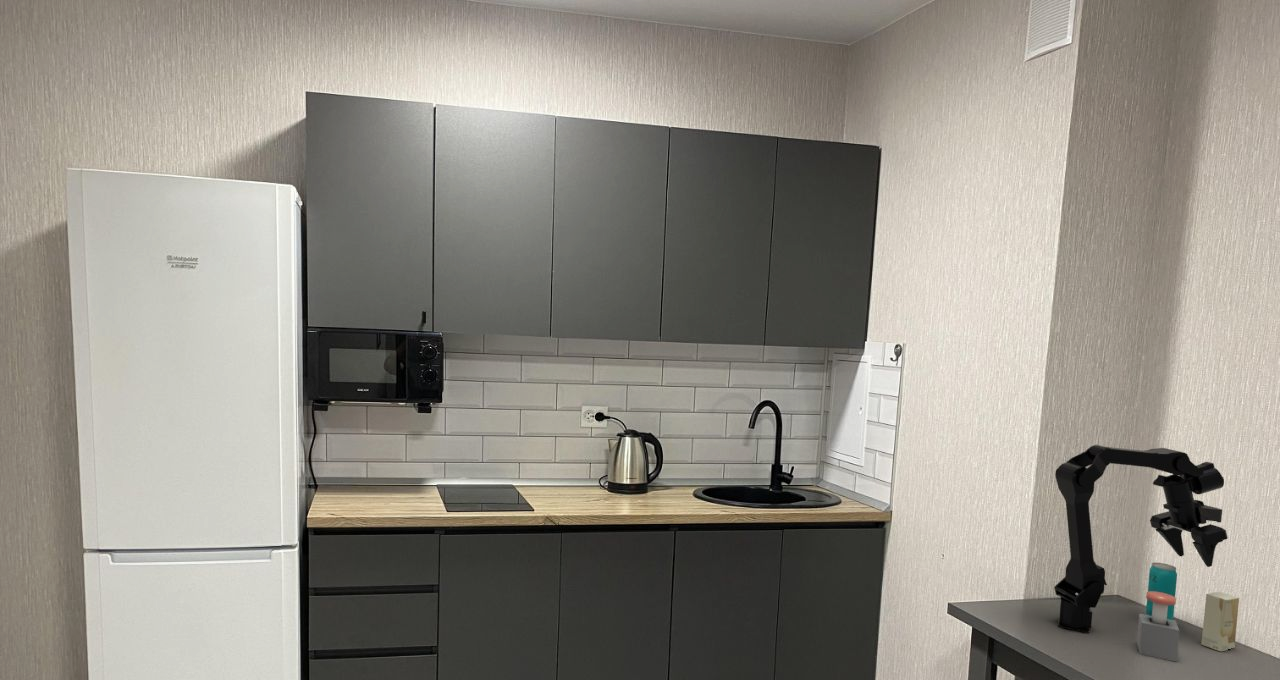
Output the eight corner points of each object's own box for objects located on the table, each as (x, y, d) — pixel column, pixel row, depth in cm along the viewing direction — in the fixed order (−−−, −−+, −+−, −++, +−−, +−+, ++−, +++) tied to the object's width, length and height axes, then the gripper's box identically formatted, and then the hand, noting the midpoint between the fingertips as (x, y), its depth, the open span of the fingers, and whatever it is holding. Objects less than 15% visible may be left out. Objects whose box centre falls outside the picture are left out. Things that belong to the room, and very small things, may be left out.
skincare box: (1220, 652, 183) (1225, 599, 183) (1200, 645, 187) (1204, 593, 187) (1235, 648, 186) (1240, 597, 186) (1215, 641, 190) (1219, 590, 190)
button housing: (1139, 653, 179) (1142, 622, 179) (1136, 643, 185) (1139, 613, 185) (1176, 661, 176) (1179, 630, 176) (1172, 651, 182) (1175, 620, 182)
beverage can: (1164, 622, 202) (1169, 563, 201) (1177, 630, 196) (1182, 570, 196) (1140, 619, 202) (1145, 561, 202) (1152, 628, 196) (1158, 567, 196)
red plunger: (1144, 629, 179) (1147, 596, 179) (1142, 621, 184) (1145, 589, 184) (1174, 635, 177) (1177, 601, 177) (1171, 627, 182) (1174, 594, 182)
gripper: (1241, 498, 186) (1257, 563, 187) (1183, 484, 205) (1197, 542, 205) (1196, 510, 186) (1212, 575, 186) (1142, 495, 205) (1157, 554, 205)
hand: (1195, 561), depth 196 cm, fingers open, 9 cm apart
